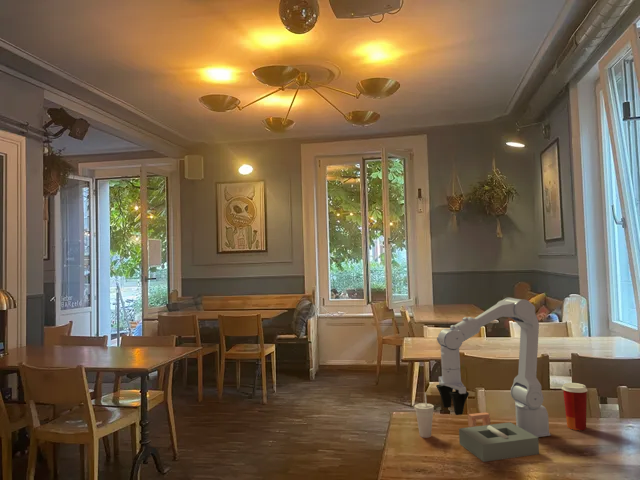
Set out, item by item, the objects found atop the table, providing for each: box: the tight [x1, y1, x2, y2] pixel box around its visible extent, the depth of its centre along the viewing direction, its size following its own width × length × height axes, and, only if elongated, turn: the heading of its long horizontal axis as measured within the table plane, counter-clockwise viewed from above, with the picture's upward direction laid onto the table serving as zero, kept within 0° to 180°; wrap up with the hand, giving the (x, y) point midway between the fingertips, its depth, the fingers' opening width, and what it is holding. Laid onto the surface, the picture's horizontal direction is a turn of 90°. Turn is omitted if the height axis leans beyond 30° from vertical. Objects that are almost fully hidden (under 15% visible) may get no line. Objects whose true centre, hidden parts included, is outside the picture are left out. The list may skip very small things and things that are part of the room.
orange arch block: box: [467, 411, 492, 427], centre depth 167 cm, size 6×3×6 cm, turn 102°
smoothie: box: [414, 392, 435, 439], centre depth 166 cm, size 6×6×14 cm
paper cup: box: [561, 382, 588, 432], centre depth 168 cm, size 8×8×14 cm
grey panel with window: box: [458, 421, 540, 463], centre depth 153 cm, size 18×14×6 cm
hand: (453, 410), depth 159 cm, fingers open, 7 cm apart
